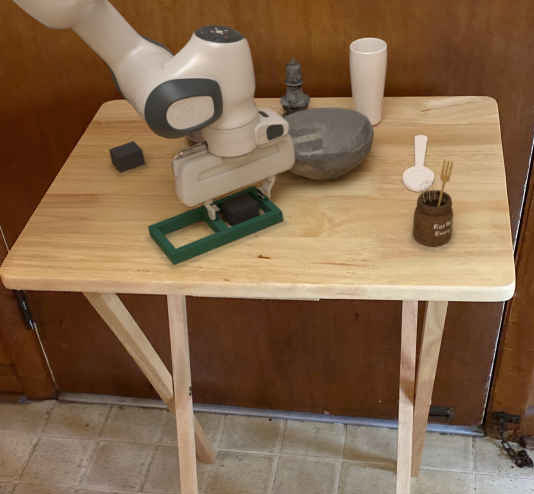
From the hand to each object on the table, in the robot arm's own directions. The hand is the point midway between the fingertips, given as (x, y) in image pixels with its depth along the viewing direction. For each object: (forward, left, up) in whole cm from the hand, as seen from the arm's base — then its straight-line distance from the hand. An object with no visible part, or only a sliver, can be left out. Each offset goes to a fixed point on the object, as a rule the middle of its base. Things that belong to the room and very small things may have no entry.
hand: (240, 207), depth 134 cm
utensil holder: (+22, -22, -2) cm, 31 cm away
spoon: (+34, -4, -2) cm, 34 cm away
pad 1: (-9, +28, -2) cm, 29 cm away
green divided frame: (-5, 0, -2) cm, 5 cm away
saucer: (+10, +26, -2) cm, 28 cm away
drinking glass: (+35, +14, -2) cm, 38 cm away
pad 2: (0, 0, -2) cm, 2 cm away
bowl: (+19, +5, -2) cm, 20 cm away
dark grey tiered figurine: (+25, +24, -2) cm, 35 cm away
